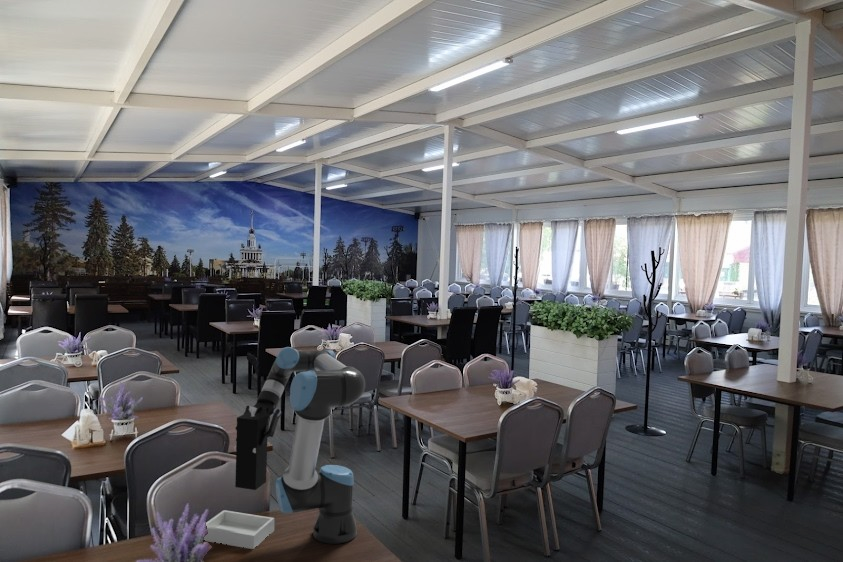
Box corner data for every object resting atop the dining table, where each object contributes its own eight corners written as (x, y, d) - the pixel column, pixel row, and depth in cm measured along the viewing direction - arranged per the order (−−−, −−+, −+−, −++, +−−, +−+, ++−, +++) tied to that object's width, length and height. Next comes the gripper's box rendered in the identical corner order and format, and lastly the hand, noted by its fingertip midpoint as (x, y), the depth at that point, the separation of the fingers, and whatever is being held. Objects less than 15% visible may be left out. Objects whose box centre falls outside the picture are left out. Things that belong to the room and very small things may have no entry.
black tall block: (255, 490, 204) (257, 410, 203) (234, 487, 206) (236, 408, 205) (266, 482, 212) (268, 405, 210) (246, 479, 214) (248, 402, 212)
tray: (274, 530, 208) (274, 518, 208) (253, 549, 194) (253, 535, 194) (223, 522, 212) (223, 510, 212) (199, 540, 199) (200, 526, 199)
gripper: (297, 403, 220) (274, 460, 205) (250, 398, 225) (224, 453, 210) (291, 392, 214) (266, 450, 200) (243, 387, 220) (216, 443, 205)
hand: (245, 451), depth 205 cm, fingers closed on black tall block, 7 cm apart
